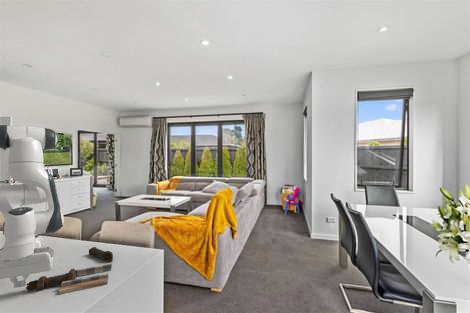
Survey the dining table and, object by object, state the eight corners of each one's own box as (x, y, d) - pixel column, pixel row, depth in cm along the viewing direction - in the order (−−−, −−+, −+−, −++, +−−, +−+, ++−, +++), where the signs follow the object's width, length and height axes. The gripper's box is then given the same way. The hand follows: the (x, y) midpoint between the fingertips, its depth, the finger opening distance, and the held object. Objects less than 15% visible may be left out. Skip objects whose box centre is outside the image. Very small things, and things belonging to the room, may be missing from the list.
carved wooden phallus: (88, 255, 115) (88, 247, 115) (96, 253, 119) (96, 244, 119) (106, 265, 105) (106, 255, 105) (114, 261, 108) (114, 252, 108)
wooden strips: (71, 273, 97) (71, 267, 97) (112, 266, 103) (112, 260, 103) (58, 294, 82) (58, 287, 82) (107, 284, 88) (107, 278, 88)
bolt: (28, 295, 84) (75, 283, 91) (23, 294, 81) (72, 283, 87) (31, 278, 87) (76, 268, 94) (26, 277, 83) (73, 267, 90)
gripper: (56, 243, 90) (56, 276, 90) (-10, 251, 82) (-11, 288, 82) (50, 248, 85) (50, 284, 84) (-22, 258, 77) (-22, 297, 76)
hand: (19, 286), depth 83 cm, fingers closed
